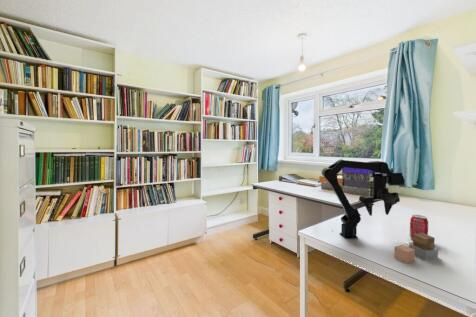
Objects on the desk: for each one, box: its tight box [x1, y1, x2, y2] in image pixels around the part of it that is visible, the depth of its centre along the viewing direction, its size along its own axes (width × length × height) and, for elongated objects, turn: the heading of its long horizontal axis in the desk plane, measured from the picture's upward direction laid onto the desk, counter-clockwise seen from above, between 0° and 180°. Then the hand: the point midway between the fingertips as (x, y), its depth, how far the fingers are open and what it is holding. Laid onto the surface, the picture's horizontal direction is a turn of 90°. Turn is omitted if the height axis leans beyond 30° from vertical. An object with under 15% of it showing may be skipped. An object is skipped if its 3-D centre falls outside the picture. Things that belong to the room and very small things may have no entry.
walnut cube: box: [412, 233, 436, 250], centre depth 95 cm, size 5×5×5 cm
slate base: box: [408, 244, 439, 261], centre depth 96 cm, size 7×7×4 cm
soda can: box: [409, 214, 429, 240], centre depth 109 cm, size 7×7×12 cm
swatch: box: [403, 240, 413, 246], centre depth 104 cm, size 7×7×1 cm
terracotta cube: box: [393, 244, 416, 264], centre depth 92 cm, size 5×5×5 cm
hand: (378, 215), depth 113 cm, fingers open, 9 cm apart
